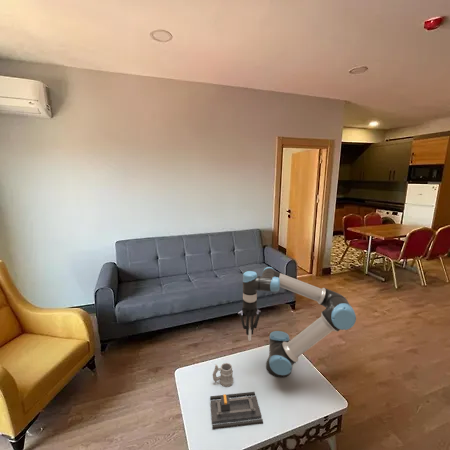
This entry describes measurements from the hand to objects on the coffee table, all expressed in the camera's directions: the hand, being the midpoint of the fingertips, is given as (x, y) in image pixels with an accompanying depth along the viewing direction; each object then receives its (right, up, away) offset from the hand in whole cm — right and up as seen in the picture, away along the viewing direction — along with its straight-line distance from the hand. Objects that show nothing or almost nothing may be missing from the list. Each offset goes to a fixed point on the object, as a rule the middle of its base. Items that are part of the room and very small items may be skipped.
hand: (249, 339), depth 145 cm
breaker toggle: (-14, -28, -15) cm, 35 cm away
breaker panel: (-9, -29, -15) cm, 34 cm away
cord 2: (-8, -31, -22) cm, 39 cm away
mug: (-15, -27, +4) cm, 31 cm away
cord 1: (-10, -28, -6) cm, 30 cm away
